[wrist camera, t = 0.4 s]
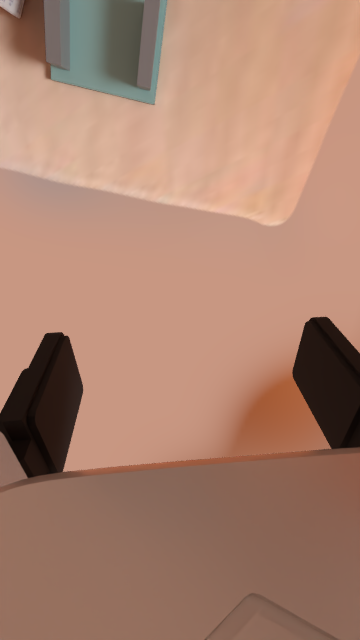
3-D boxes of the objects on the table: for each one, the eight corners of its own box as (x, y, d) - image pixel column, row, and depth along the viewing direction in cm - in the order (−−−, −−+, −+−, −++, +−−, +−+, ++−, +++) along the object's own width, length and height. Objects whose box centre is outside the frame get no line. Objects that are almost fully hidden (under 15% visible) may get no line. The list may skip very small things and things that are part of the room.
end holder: (49, -41, 25) (33, -66, 21) (167, -4, 26) (169, -22, 23) (52, 80, 29) (40, 75, 26) (154, 105, 31) (154, 103, 27)
